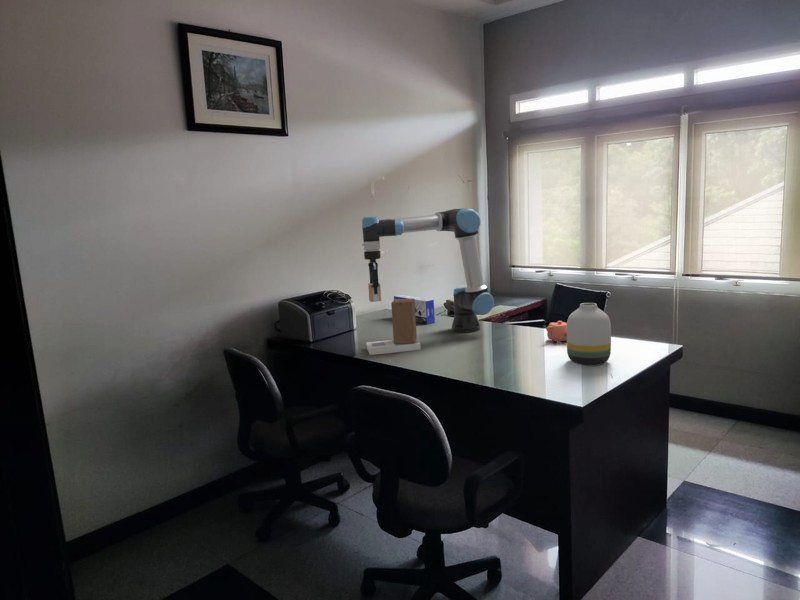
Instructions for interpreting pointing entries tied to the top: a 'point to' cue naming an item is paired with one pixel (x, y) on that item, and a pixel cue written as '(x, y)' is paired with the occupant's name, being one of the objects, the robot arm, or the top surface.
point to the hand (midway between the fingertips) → (375, 299)
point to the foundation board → (390, 347)
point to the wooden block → (404, 321)
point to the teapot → (557, 331)
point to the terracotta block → (372, 292)
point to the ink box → (422, 309)
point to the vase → (588, 335)
